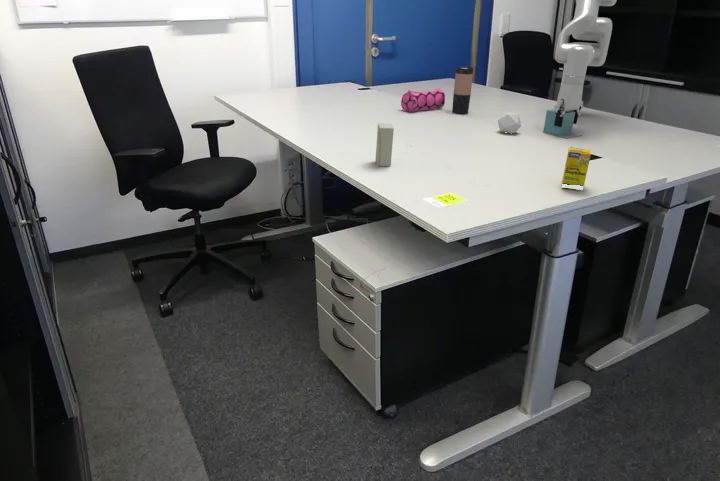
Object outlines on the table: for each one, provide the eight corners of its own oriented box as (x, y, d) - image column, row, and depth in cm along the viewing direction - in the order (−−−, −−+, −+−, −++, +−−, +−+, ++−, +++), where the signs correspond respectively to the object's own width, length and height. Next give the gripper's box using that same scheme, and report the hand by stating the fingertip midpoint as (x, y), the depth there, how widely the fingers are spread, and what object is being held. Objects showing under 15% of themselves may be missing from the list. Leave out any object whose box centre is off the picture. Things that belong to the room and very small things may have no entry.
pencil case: (413, 114, 243) (415, 91, 239) (399, 110, 250) (400, 88, 246) (446, 109, 255) (448, 88, 251) (432, 106, 262) (433, 85, 258)
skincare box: (375, 160, 174) (377, 123, 169) (389, 160, 175) (391, 123, 170) (377, 166, 169) (379, 127, 164) (391, 166, 169) (393, 127, 164)
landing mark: (560, 130, 223) (560, 129, 223) (581, 135, 216) (581, 135, 216) (545, 133, 217) (545, 132, 217) (566, 138, 210) (566, 138, 210)
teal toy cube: (554, 129, 223) (558, 108, 220) (571, 133, 218) (575, 111, 214) (543, 132, 219) (546, 110, 215) (559, 136, 214) (563, 113, 210)
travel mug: (468, 115, 245) (473, 69, 236) (451, 113, 246) (455, 68, 238) (468, 111, 252) (473, 66, 243) (452, 110, 253) (456, 66, 245)
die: (523, 134, 217) (516, 112, 218) (523, 128, 209) (516, 105, 210) (502, 140, 219) (496, 118, 220) (502, 134, 210) (495, 111, 212)
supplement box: (560, 188, 155) (568, 151, 150) (561, 182, 160) (568, 146, 156) (583, 191, 153) (591, 154, 149) (583, 185, 158) (591, 148, 154)
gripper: (578, 77, 215) (569, 120, 223) (551, 80, 206) (543, 125, 213) (595, 80, 210) (586, 124, 217) (568, 83, 201) (560, 129, 208)
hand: (565, 124), depth 215 cm, fingers open, 9 cm apart
